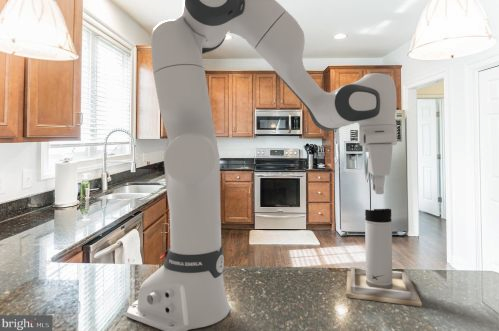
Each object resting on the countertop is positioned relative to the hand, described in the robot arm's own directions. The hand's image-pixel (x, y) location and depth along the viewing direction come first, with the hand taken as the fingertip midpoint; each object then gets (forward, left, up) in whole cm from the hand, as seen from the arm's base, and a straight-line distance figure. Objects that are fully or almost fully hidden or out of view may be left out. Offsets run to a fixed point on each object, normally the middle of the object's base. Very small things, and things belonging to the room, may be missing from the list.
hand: (377, 192), depth 76 cm
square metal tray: (0, 0, -25) cm, 25 cm away
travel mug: (0, 0, -24) cm, 24 cm away
